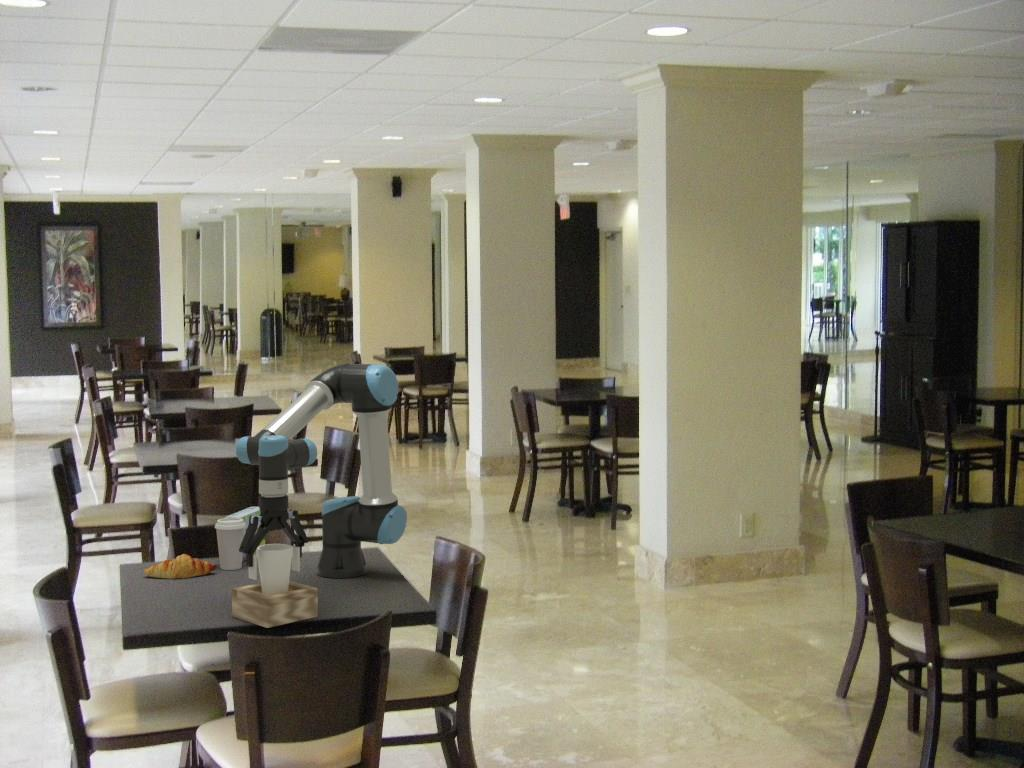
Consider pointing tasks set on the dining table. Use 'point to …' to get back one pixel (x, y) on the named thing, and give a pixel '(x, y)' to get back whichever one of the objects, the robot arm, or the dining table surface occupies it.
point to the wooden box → (274, 604)
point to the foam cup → (274, 567)
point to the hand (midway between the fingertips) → (274, 574)
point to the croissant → (180, 568)
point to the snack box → (247, 521)
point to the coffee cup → (230, 542)
